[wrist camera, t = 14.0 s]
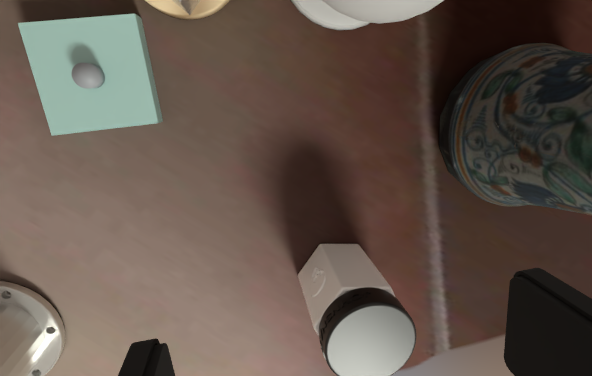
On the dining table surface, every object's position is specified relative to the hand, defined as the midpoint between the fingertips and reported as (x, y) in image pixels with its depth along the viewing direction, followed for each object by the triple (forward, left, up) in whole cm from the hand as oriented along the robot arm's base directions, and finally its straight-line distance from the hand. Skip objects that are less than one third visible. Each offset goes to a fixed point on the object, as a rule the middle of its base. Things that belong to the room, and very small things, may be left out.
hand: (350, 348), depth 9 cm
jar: (+6, -15, -28) cm, 33 cm away
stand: (-14, +9, -28) cm, 33 cm away
